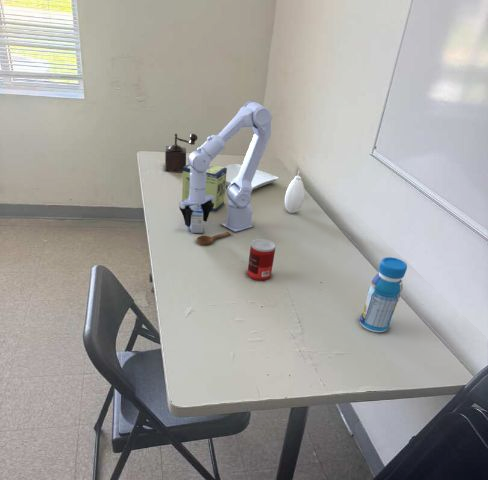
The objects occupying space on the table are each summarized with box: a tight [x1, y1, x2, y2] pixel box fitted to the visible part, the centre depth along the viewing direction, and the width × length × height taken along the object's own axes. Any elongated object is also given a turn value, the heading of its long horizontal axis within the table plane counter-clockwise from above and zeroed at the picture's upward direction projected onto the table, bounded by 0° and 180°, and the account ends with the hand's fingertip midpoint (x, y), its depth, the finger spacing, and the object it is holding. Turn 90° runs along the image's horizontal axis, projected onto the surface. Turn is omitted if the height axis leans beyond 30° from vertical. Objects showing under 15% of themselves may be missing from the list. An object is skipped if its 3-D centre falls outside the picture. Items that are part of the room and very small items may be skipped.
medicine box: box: [189, 204, 204, 234], centre depth 164 cm, size 8×4×9 cm, turn 11°
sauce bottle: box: [284, 171, 305, 214], centre depth 186 cm, size 8×8×18 cm
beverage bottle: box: [359, 256, 408, 333], centre depth 121 cm, size 8×8×20 cm
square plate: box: [223, 163, 280, 191], centre depth 215 cm, size 27×27×4 cm
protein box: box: [181, 163, 227, 213], centre depth 183 cm, size 10×16×16 cm
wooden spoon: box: [196, 231, 232, 246], centre depth 161 cm, size 15×5×1 cm, turn 135°
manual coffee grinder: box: [164, 133, 199, 173], centre depth 217 cm, size 16×11×18 cm
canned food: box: [247, 238, 277, 282], centre depth 140 cm, size 8×8×11 cm
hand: (196, 223), depth 165 cm, fingers closed on medicine box, 7 cm apart
